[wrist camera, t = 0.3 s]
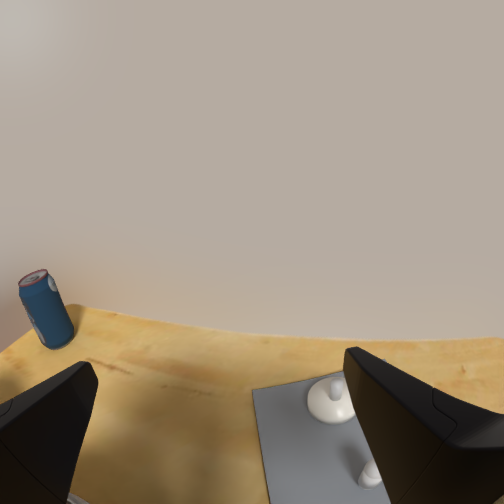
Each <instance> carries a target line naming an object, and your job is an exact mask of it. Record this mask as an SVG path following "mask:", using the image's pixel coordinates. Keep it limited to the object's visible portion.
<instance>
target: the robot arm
mask: <svg viewBox="0 0 504 504" xmlns="http://www.w3.org/2000/svg"><path fill="white" fill-rule="evenodd" d="M343 373H344V377H345V380H346V384H347V387H348V391H349V395H350V398H351V402H352V405H353V409H354V412H355V414H356V417H357V419H358V421H359V424H360V426H361V429H362V431H363V434H364V436H365V438H366V441H367V443H368V446H369V448H370V451H371V453H372V456H373V458H374V461H375V463H376V466H377V468H378V471H379V474H380V476H381V479H382V481H383V484H384V486H385V489H386V492H387V494H388V497H389V500H390V502H391V504H504V414H499V413H495V412H492V411H489V410H487V409H484V408H481V407H478V406H475V405H473V404H470V403H467V402H465V401H462V400H460V399H457V398H455V397H453V396H451V395H448V394H446V393H444V392H442V391H440V390H438V389H436V388H433V387H432V386H430V385H428V384H426V383H425V382H423V381H421V380H419V379H417V378H415V377H413V376H411V375H409V374H407V373H406V372H404V371H402V370H400V369H398V368H396V367H394V366H392V365H391V364H389V363H387V362H385V361H383V360H381V359H380V358H378V357H376V356H374V355H372V354H370V353H369V352H367V351H365V350H363V349H361V348H359V347H351V348H347V349H346V350H345V354H344V364H343ZM97 388H98V378H97V376H96V374H95V372H94V370H93V367H92V365H91V364H90V363H89V362H85V361H79V362H77V363H76V364H74V365H72V366H70V367H68V368H67V369H65V370H63V371H61V372H59V373H58V374H56V375H54V376H52V377H50V378H49V379H47V380H45V381H43V382H41V383H39V384H38V385H36V386H34V387H32V388H30V389H29V390H27V391H25V392H23V393H21V394H19V395H18V396H16V397H14V399H13V398H12V399H10V400H8V401H7V402H5V403H3V404H1V405H0V504H67V499H68V495H69V491H70V487H71V482H72V478H73V475H74V471H75V467H76V463H77V460H78V456H79V453H80V449H81V446H82V443H83V440H84V436H85V433H86V430H87V427H88V424H89V421H90V417H91V414H92V409H93V405H94V401H95V396H96V392H97Z"/></svg>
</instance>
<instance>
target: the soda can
mask: <svg viewBox="0 0 504 504" xmlns="http://www.w3.org/2000/svg"><path fill="white" fill-rule="evenodd" d="M18 285H19V296H20V298H21V301H22V303H23V305H24V308H25V310H26V312H27V314H28V317H29V319H30V321H31V323H32V325H33V327H34V329H35V331H36V333H37V335H38V337H39V339H40V341H41V343H42V344H43V345H44V346H46V347H47V348H49V349H51V350H58V349H61V348H63V347H65V346H66V345H68V344H69V343H70V342H71V341H72V339H73V334H74V327H73V324H72V322H71V320H70V318H69V316H68V313H67V311H66V309H65V306H64V304H63V302H62V299H61V297H60V294H59V292H58V289H57V286H56V284H55V281H54V279H53V278H52V277H51V276H50V275H49V274H48V271H47V270H46V269H41V270H38V271H35V272H32V273H30V274H28V275H26V276H25V277H23V278H22V279H21V280H20V281H19V283H18Z"/></svg>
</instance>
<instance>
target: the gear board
mask: <svg viewBox="0 0 504 504" xmlns="http://www.w3.org/2000/svg"><path fill="white" fill-rule="evenodd" d="M382 360H383V361H385V362H386V360H385V359H382ZM252 393H253V399H254V406H255V412H256V418H257V425H258V431H259V437H260V443H261V449H262V455H263V461H264V467H265V473H266V479H267V485H268V490H269V496H270V502H271V504H391V502H390V500H389V497H388V494H387V492H386V489H385V486H384V484H383V481H382V479H381V476H380V474H379V471H378V468H377V466H376V463H375V461H374V458H373V456H372V453H371V451H370V448H369V446H368V443H367V441H366V438H365V436H364V434H363V431H362V429H361V426H360V424H359V421H358V419H357V417H356V414H355V412H354V409H353V405H352V402H351V398H350V395H349V391H348V387H347V384H346V380H345V377H344V373H343V371H342V372H338V373H334V374H330V375H326V376H322V377H318V378H314V379H309V380H305V381H300V382H295V383H290V384H285V385H280V386H274V387H269V388H263V389H257V390H252Z"/></svg>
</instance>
